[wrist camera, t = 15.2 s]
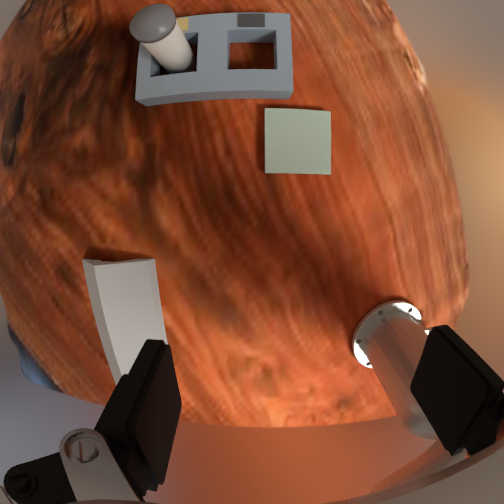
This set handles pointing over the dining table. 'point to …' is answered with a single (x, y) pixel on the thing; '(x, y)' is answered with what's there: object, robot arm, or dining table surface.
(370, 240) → the dining table surface
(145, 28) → the plug
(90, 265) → the crown molding
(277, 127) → the square base plate
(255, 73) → the socket block
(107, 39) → the dining table surface
